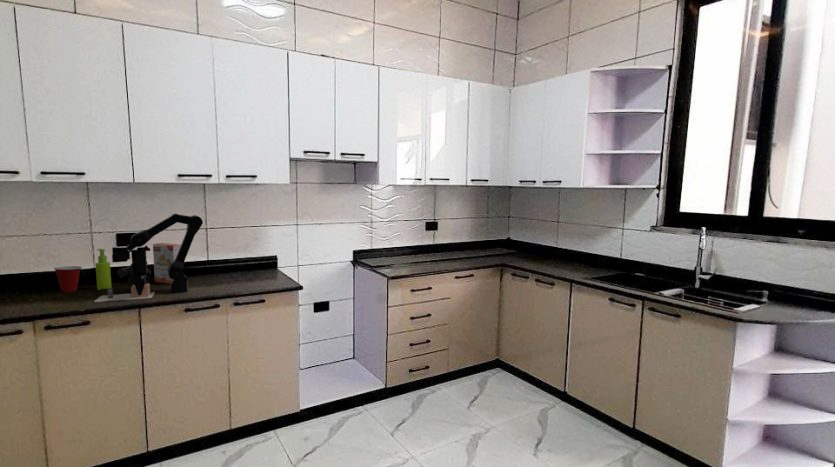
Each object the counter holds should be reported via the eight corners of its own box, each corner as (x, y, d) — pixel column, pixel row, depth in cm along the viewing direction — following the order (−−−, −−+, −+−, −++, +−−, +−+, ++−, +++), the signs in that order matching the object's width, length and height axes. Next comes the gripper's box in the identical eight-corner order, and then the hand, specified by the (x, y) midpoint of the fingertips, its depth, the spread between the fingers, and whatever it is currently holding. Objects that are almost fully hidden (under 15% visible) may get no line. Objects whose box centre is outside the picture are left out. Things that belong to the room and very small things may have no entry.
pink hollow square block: (150, 293, 210) (149, 283, 209) (148, 296, 205) (147, 286, 204) (134, 294, 207) (133, 284, 207) (131, 297, 202) (130, 287, 201)
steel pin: (113, 297, 203) (113, 287, 202) (112, 298, 201) (112, 288, 200) (108, 297, 202) (107, 287, 201) (107, 298, 200) (106, 288, 199)
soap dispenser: (108, 286, 226) (106, 247, 223) (113, 288, 221) (110, 249, 219) (94, 288, 221) (92, 249, 219) (99, 290, 217) (96, 250, 214)
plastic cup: (89, 288, 220) (87, 265, 219) (68, 294, 209) (66, 269, 208) (71, 287, 222) (69, 263, 221) (49, 292, 211) (47, 268, 210)
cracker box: (153, 282, 236) (152, 243, 233) (163, 280, 242) (161, 242, 239) (174, 285, 232) (172, 245, 229) (183, 282, 237) (182, 244, 235)
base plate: (155, 294, 213) (155, 292, 213) (151, 299, 203) (151, 297, 203) (100, 297, 204) (100, 295, 204) (94, 304, 194) (93, 301, 194)
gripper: (123, 258, 209) (125, 290, 211) (113, 265, 192) (115, 300, 194) (150, 257, 214) (151, 288, 216) (143, 264, 197) (145, 298, 199)
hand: (141, 293), depth 206 cm, fingers closed on pink hollow square block, 6 cm apart
